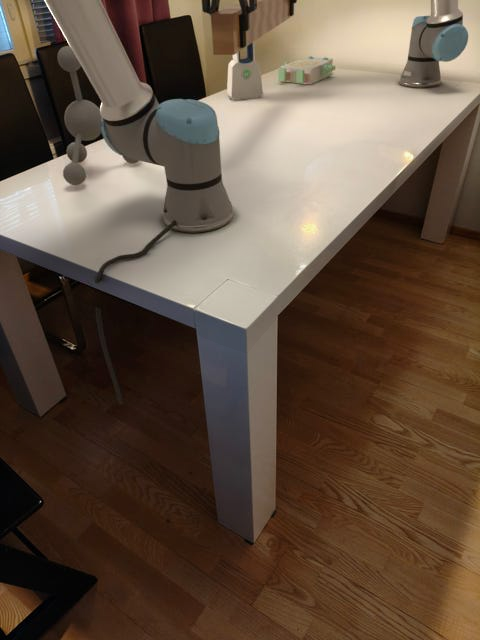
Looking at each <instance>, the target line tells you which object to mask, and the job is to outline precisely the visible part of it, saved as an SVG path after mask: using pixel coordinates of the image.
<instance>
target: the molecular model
mask: <svg viewBox="0 0 480 640" xmlns="http://www.w3.org/2000/svg"><path fill="white" fill-rule="evenodd" d="M57 62H58V64H59V66H60V67H61V69H63V70H64V71H66V72H67V73H68V72H69V75H70V79H71V84H72V87H73V92H74V96H75V100H74V101H72V102H71V103H70V104H69V105H67V107H66V109H65V111H64V117H63V118H64V120H63V121H64V126H65V127H66V129H67V131H68V132H69V134H70V135H71V136H72V137H74V141H73V142H71V143H70V144H68V145H67V147H66V157H68V159H69V160H70V161H71V162H69V163H68V164H66V165H65V166H64V168H63V170H62V175H63V179H64V180H65V181H66V182H67V183H68V184H70V185H72V186H79V185H82V184H83V183H84V182H85V181H86V179H87V171H86V169H85V168H84V166H83V165H81V164H80V163H82V162H84V161H85V160H86V159H87V156H88V151H87V148H86V146H85V145H84V144H82V141H84V142H89V141H94V140H96V139H97V138H98V137H100V135H102V131H101V127H102V122H101V114H100V107H99V106H98V105H96V104H95V103H94V102H92V101H90V100H87V99H83V95H82V91H81V87H80V82H79V78H78V74H77V71H78V70H80V69H81V68H82V66H81V64H80V63H79V61H78V59H77V57H76V55H75V54H74V52H73V50H72V48H71V47H70V45H64V46H62V47H61V48H60V49H59V50H58V52H57ZM122 158H123V160H124V161H125V162H126V163H128V164H130V165H131V164H137V163H139V162H140V161H139V160H134V159H129V158H126V157H124V156H122Z"/></svg>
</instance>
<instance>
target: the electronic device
mask: <svg viewBox="0 0 480 640" xmlns="http://www.w3.org/2000/svg"><path fill="white" fill-rule="evenodd" d="M255 42H256V41H254V42H253V43H251V44H250V45H248V46H247V47H246V57H244V58H241V51H239V52H238V53H236V54H235V55H232V59H231V60H230V62H229V63H228V64H227V65H228V66H227V80H226V81H227V84H226V92H227V95H228V96H229V97H230V98H232V100H234V101H240V100H247V99H249V100H250V99H255V98H256V99H257V98H261V97H262V95H263V94H264V91H263V82H262V81H263V80H262V73H261V65H260V63H259V61H257V60H256V46H255Z"/></svg>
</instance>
